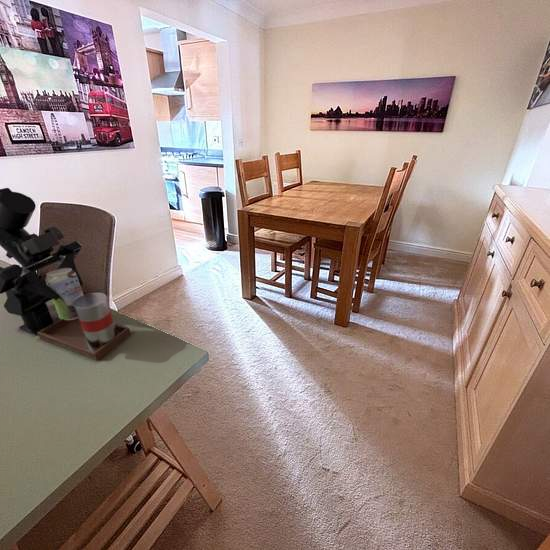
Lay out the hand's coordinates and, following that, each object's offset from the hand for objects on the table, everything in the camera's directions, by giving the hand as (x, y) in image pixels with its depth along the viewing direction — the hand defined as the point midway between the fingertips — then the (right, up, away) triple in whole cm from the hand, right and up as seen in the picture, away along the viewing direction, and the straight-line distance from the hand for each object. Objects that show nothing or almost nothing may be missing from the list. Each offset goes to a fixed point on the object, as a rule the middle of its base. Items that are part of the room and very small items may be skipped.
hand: (70, 291), depth 70 cm
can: (+5, -13, +4) cm, 15 cm away
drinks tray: (0, -12, +6) cm, 13 cm away
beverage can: (-2, -6, +3) cm, 7 cm away
